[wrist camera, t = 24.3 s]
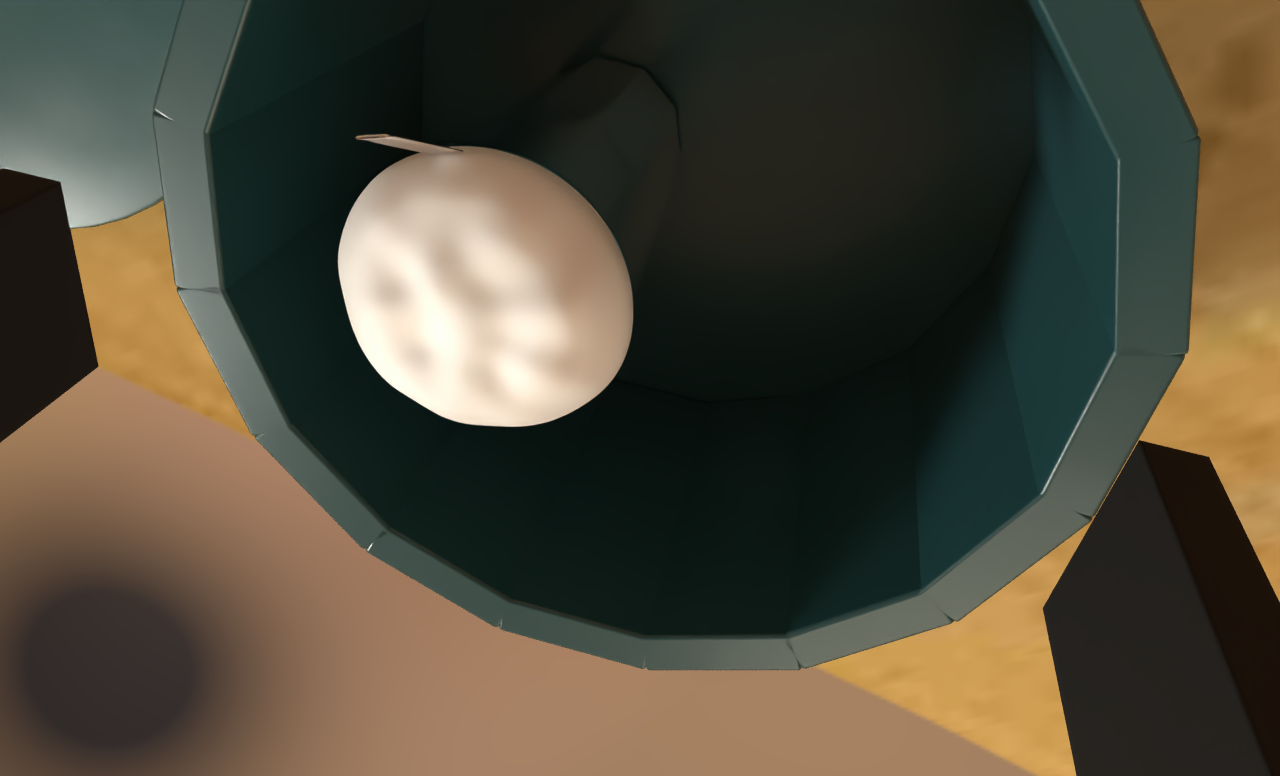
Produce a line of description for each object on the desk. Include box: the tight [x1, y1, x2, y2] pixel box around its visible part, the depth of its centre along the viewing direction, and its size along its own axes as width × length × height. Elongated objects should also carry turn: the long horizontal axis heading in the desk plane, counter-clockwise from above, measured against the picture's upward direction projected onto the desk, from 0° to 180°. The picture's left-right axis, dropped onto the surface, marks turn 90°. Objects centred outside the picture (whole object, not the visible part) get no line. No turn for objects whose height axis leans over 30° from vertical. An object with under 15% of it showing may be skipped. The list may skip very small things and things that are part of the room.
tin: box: [152, 0, 1201, 670], centre depth 17 cm, size 15×15×8 cm
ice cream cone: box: [338, 56, 680, 427], centre depth 17 cm, size 4×5×10 cm
